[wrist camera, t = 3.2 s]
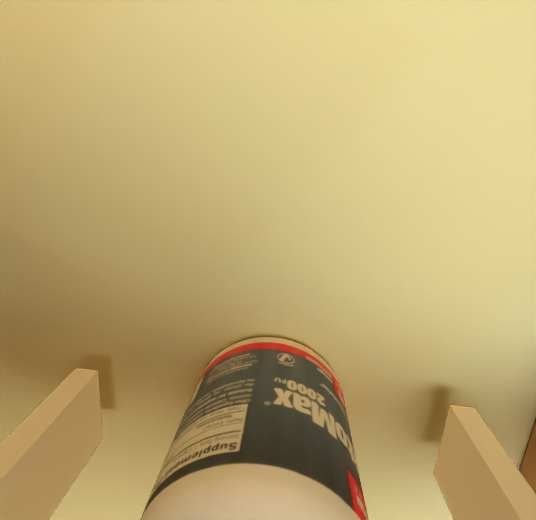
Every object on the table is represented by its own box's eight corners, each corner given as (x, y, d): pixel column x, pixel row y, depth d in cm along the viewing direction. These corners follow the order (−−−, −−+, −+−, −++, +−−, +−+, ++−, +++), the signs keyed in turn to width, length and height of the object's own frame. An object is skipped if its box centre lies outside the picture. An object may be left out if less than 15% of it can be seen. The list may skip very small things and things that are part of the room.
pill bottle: (370, 415, 14) (498, 846, 5) (256, 478, 15) (208, 918, 6) (284, 304, 13) (270, 613, 4) (169, 380, 14) (-27, 746, 5)
